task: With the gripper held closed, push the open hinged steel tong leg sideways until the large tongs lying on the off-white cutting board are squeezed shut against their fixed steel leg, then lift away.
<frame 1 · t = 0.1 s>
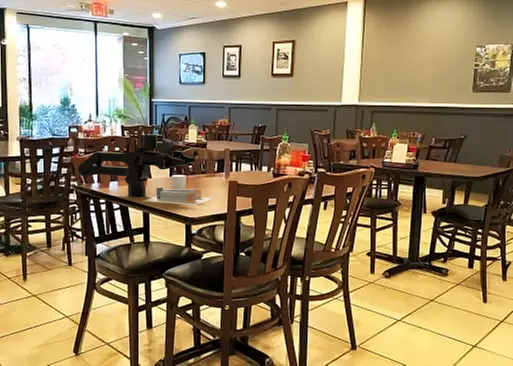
hand: (189, 160, 212), 17 cm above the table, tool horizontal, fingers open, 9 cm apart
white cup: (179, 190, 242), on the table
tong leg: (178, 192, 216), point 3 cm above the table, hinge at 30.0°
tong fixed leg: (159, 198, 215), resting on cutting board
cutting board: (178, 200, 214), on the table
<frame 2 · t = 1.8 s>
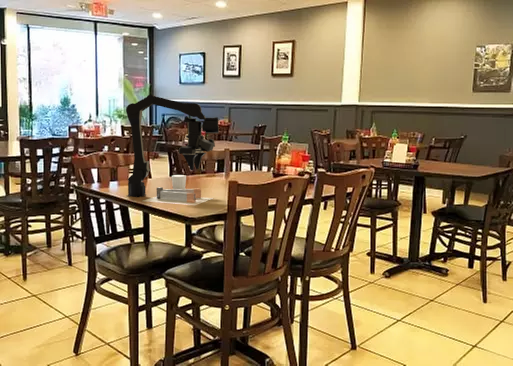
hand: (194, 169, 222), 12 cm above the table, tool pointing down, fingers open, 5 cm apart
nothing on the table moved.
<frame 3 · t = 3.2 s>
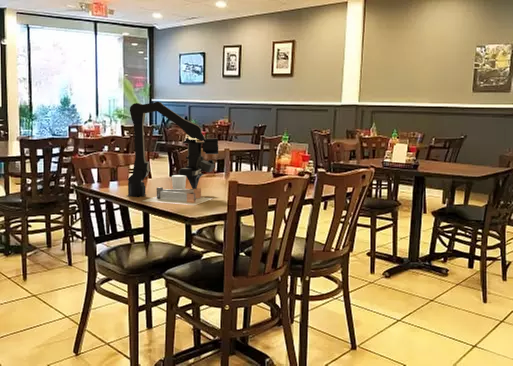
hand: (194, 190, 223), 3 cm above the table, tool pointing down, fingers closed
nothing on the table moved.
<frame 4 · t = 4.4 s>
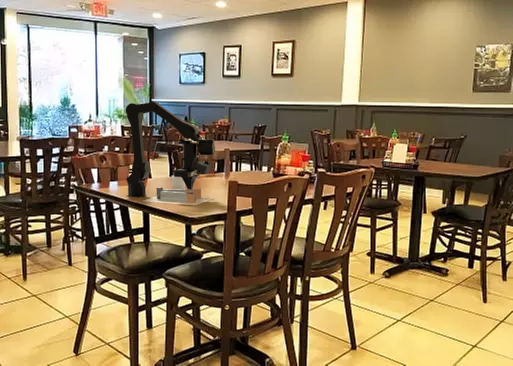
hand: (190, 191, 219), 3 cm above the table, tool pointing down, fingers closed
tong leg: (178, 192, 216), point 3 cm above the table, hinge at 29.9°, touching gripper
everything else where it was.
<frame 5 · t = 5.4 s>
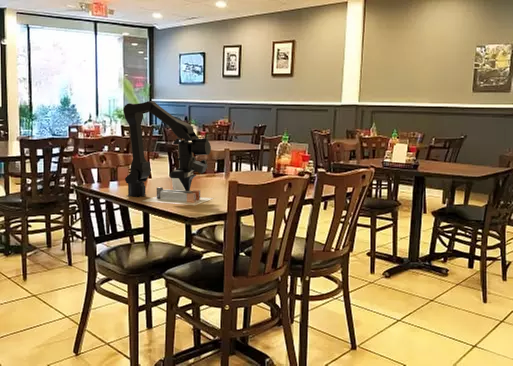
hand: (187, 192, 215), 3 cm above the table, tool pointing down, fingers closed
tong leg: (178, 193, 214), point 3 cm above the table, hinge at 11.0°, touching gripper
everything else where it was.
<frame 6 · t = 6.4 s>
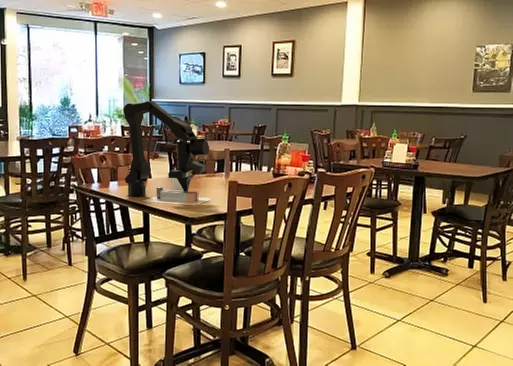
hand: (186, 192, 213), 3 cm above the table, tool pointing down, fingers closed
tong leg: (177, 194, 213), point 3 cm above the table, hinge at 2.6°, touching gripper
everything else where it was.
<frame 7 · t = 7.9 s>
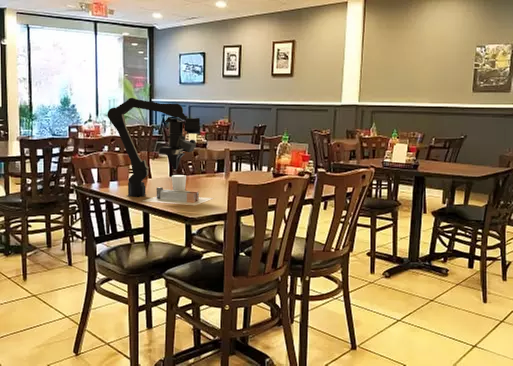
hand: (175, 169, 223), 12 cm above the table, tool pointing down, fingers closed
tong leg: (177, 194, 213), point 3 cm above the table, hinge at 2.5°
everything else where it was.
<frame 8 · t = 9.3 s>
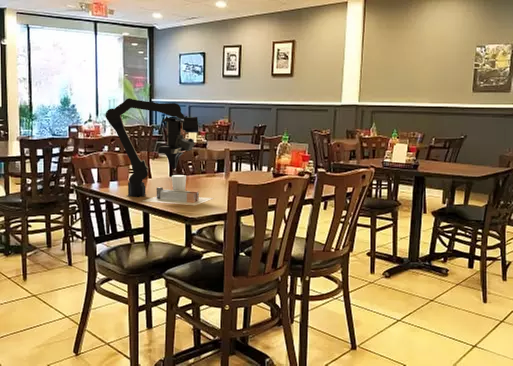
hand: (174, 168, 224), 12 cm above the table, tool pointing down, fingers closed
nothing on the table moved.
at the end: tong leg at +2° (first picture: +30°); white cup moved 0.2 cm from its start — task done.
